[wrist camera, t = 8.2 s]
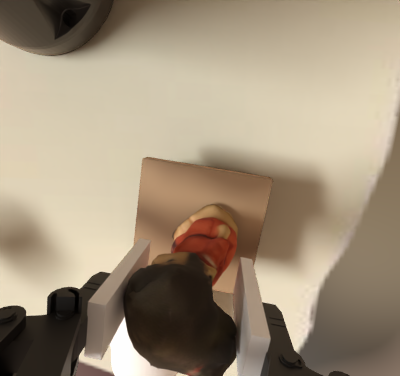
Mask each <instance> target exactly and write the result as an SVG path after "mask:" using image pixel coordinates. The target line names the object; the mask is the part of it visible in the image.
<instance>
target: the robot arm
mask: <svg viewBox="0 0 400 376" xmlns="http://www.w3.org/2000/svg"><path fill="white" fill-rule="evenodd" d="M112 3H113V0H0V40H2V41H4V42H6V43H8V44H10V45H13V46H15V47H17V48H20V49H22V50H25V51H27V52H30V53H34V54H39V55H59V54H63V53H67V52H70V51H72V50H75V49H77V48H78V47H80V46H82V45H83V44H85V43H86V42H87V41H89V40H90V39H91V38H92V37H93V36H94V35H95V34H96V33H97V31H98V30H99V29H100V27H101V26H102V24H103V23H104V21H105V19H106V18H107V16H108V14H109V11H110V9H111V6H112ZM150 244H151V240H146V239H141V238H140V239H139V240H138V241H137V242H136V244H135V245H134V246H133V247H132V249H131V250H130V251H129V252H128V253H127V255H126V256H125V257H124V258H123V260H122V261H121V262H120V263H119V264H118V266H117V267H116V268H115V269H114V271H113V272H112V273H105V272H99V273H97V274H95V275H93V276H92V277H91V278H90V279H89V280H88V281H87V283H85V285H84V286H83V287H82V288H81V289H78V288H74V287H64V288H60V289H57V290H55V291H53V292H52V293H51V294H50V295H49V296H48V298H47V315H39V316H26V310H25V309H24V308H23V307H20V306H7V307H3V308H0V376H75V374H76V371H77V367H78V361H79V354H80V353H81V351H82V350H83V348H84V347H85V353H84V356H85V357H89V358H94V359H99V360H101V359H102V357H103V356H104V354H105V352H106V350H107V348H108V346H109V345H110V343H111V341H112V339H113V337H114V335H115V334H116V332H117V330H118V328H119V326H120V324H121V323H122V321H123V319H124V317H125V315H124V305H123V302H124V294H125V291H126V288H127V284H128V280H129V279H130V277H131V276H132V275H133V273H135V272H136V271H137V270H139V269H140V268H146V266H148V260H149V252H150ZM233 306H234V322H235V324H236V328H237V333H236V335H235V338H236V355H237V371H238V376H323V375H320V374H318V373H316V372H314V371H312V370H311V369H309V368H308V367H306V366H305V362H304V361H303V359H302V357H301V356H300V355H299V354H298V353H297V352H295V351H294V349H293V346H292V343H291V340H290V337H289V334H288V331H287V328H286V324H285V322H284V318H283V315H282V312H281V311H280V310H279V309H278V308H277V306H276V305H273V304H268V303H263V302H262V300H261V295H260V291H259V287H258V283H257V278H256V274H255V270H254V266H253V261H252V259H249V258H243V257H240V261H239V266H238V271H237V276H236V280H235V285H234V290H233ZM329 376H349V375H348V374H345V373H343V372H339V371H333V372H331V373H330V374H329Z"/></svg>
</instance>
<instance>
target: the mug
mask: <svg viewBox="0 0 400 376" xmlns="http://www.w3.org/2000/svg"><path fill="white" fill-rule="evenodd" d="M109 346H111V363H112V370H113V373H114V375H115V376H176V374H177V373H178V372H175V371H171V370H166V369H158V368H156V367H154V366H150V363H149V362H148V361H147V360H146V359H145V358H143V357H142V356H141V355H140V354H139V353H138V352H137V351H136V350H135V349H134V347H133V345H132V342H131V340H130V338H129V335H128V332H127V327H126V322H125V317H124V319H123V321H122V323H121V324H120V326H119V328H118V330H117V332H116V334H115V335H114V337H113V339H112V341H111V343H110V345H109Z"/></svg>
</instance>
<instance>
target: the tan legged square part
mask: <svg viewBox="0 0 400 376" xmlns="http://www.w3.org/2000/svg"><path fill="white" fill-rule="evenodd" d="M272 183H273V180H272V179H271V178H270V177H265V176H259V175H253V174H247V173H241V172H235V171H229V170H223V169H217V168H211V167H205V166H199V165H193V164H187V163H181V162H175V161H169V160H163V159H157V158H151V157H146V158H143V160H142V169H141V179H140V188H139V198H138V208H137V217H136V227H135V236H134V245H135V244H136V242H137V241H138V240H139V239H140V238H141V239H146V240H151V244H150V252H149V260H148V266H149V265H151V263H152V261H153V260H154V259H155V258H156V257H157V256H158V255H161V254H168V253H171V247H172V244H173V238H172V235H173V232H174V231H175V230H176V229H177V227H178V226H179V225H180V224H182V223H183V222H184V221H185V220H186V219H187V218H189V217H190V216H191V215H193V214H194V213H195V212H197V211H198V210H199V209H201V208H202V207H204V206H206V205H210V204H215V205H218V206H220V207H222V208H223V209H225V210H226V211H227V212H229V213H230V214H231V216H232V217H233V219H234V221H235V223H236V225H237V228H238V233H237V248H236V252H235V254H234V257H233V259H232V261H231V262H230V264H229V266H228V267H227V269H226V270H225V271H224V272H223V273H222V275H221V276H220V278H219V279H218V281H217V282H216V284H215V285H214V284H213V285H214V286H212V290H216V291H221V292H226V293H231V294H233V290H234V285H235V280H236V276H237V271H238V266H239V261H240V257H243V258H249V259H252V261H253V266H254V262H255V258H256V254H257V249H258V245H259V240H260V236H261V231H262V227H263V223H264V218H265V214H266V209H267V205H268V201H269V196H270V192H271V187H272Z"/></svg>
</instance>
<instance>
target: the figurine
mask: <svg viewBox="0 0 400 376" xmlns="http://www.w3.org/2000/svg"><path fill="white" fill-rule="evenodd" d="M237 233H238V228H237V225H236V223H235V221H234V219H233V217H232V216H231V214H230V213H229V212H227V211H226V210H225V209H223V208H222V207H220V206H218V205H215V204H210V205H206V206H204V207H202V208H201V209H199V210H198V211H197V212H195V213H194V214H193V215H191V216H190V217H189V218H187V219H186V220H185V221H184V222H183V223H182V224H180V225H179V226H178V227H177V229H176V230H175V231H174V232H173V235H172V238H173V244H172V247H171V253H168V254H161V255H158V256H157V257H156V258H155V259H154V260H153V261H152V263H151V265H149V266H146V268H140V269H139V270H137V271H136V272H135V273H133V275H132V276H131V277H130V279H129V280H128V284H127V288H126V291H125V294H124V302H123V305H124V315H125V322H126V327H127V332H128V335H129V338H130V340H131V342H132V345H133V347H134V349H135V350H136V351H137V352H138V353H139V354H140V355H141V356H142V357H143V358H145V359H146V360H147V361H148V362H149V363H150V366H154V367H156V368H158V369H166V370H171V371H175V372H179V373H182V374H185V375H189V376H223V374H224V372H225V371H226V370H227V369H228V367H229V366H230V365H231V364H232V363H233V361H234V360H235V358H236V356H237V355H236V338H235V335H236V333H237V328H236V324H235V323H234V321H233V320H232V318H231V317H230V316H229V315H228V314H226V313H225V312H224V311H223V310H222V309H221V308H220V307H219V306H217V304H216V303H215V302H214V301H213V292H212V286H214V285H215V284H216V282H217V281H218V279H219V278H220V276H221V275H222V273H223V272H224V271H225V270H226V269H227V267H228V266H229V264H230V262H231V261H232V259H233V257H234V254H235V252H236V248H237ZM213 284H214V285H213Z"/></svg>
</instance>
